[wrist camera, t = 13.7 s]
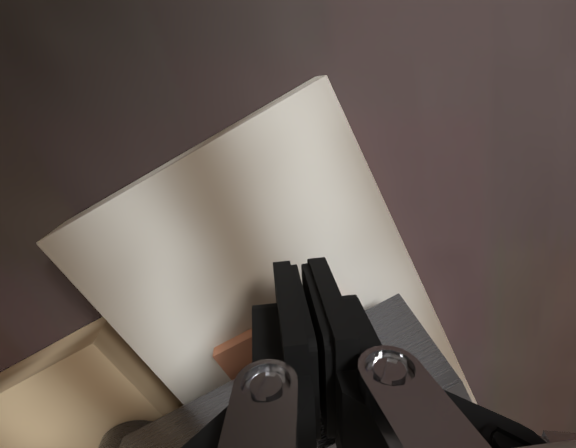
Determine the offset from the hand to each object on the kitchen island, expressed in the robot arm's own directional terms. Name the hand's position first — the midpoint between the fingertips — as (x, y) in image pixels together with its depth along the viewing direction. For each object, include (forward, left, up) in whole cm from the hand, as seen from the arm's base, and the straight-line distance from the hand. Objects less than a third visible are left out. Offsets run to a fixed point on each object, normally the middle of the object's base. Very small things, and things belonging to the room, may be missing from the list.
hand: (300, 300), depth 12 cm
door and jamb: (+9, +4, -4) cm, 10 cm away
